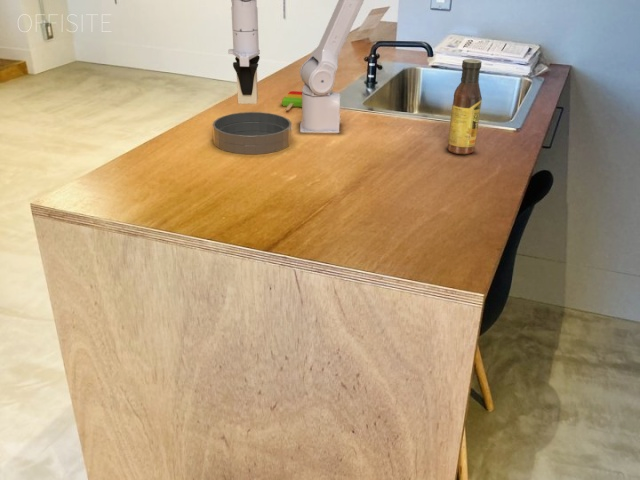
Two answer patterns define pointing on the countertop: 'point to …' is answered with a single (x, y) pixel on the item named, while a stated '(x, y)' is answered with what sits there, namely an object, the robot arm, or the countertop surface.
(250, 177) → the countertop surface
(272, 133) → the steel cake pan
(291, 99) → the popsicle
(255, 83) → the cream block
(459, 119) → the sauce bottle
